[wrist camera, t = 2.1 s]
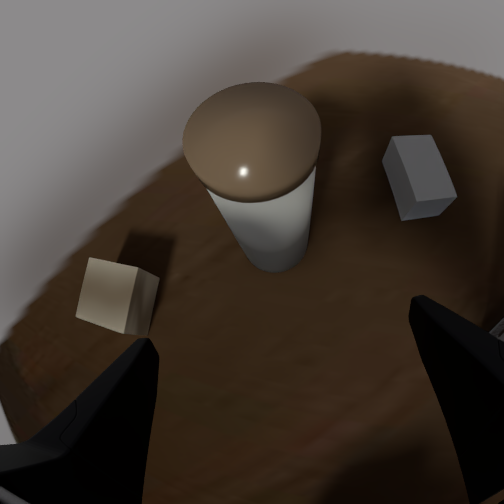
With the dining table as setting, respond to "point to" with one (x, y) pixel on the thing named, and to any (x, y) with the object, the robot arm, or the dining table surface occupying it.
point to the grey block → (418, 177)
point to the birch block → (117, 297)
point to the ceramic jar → (259, 167)
